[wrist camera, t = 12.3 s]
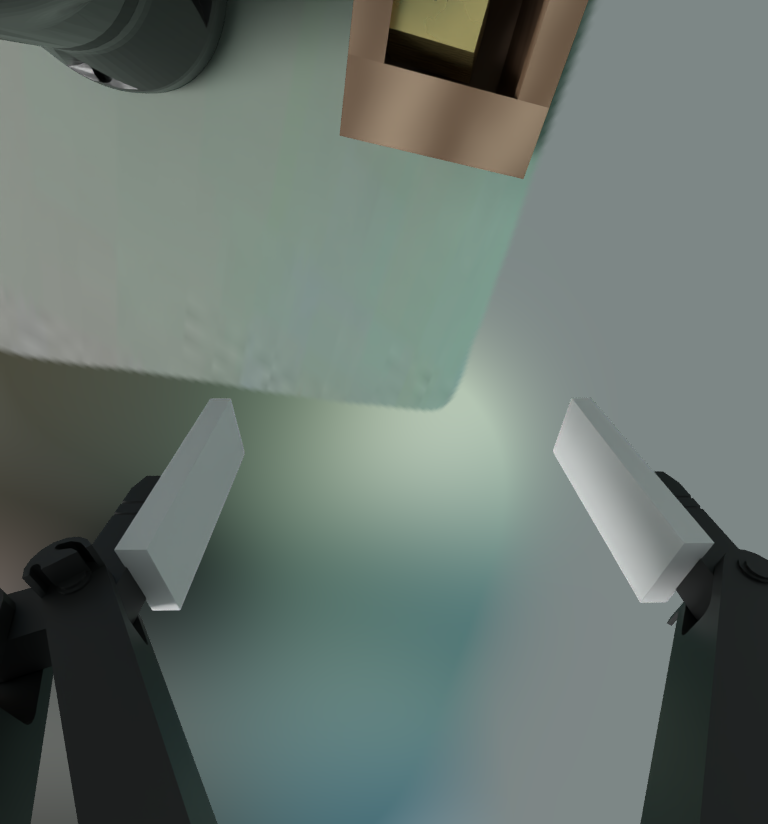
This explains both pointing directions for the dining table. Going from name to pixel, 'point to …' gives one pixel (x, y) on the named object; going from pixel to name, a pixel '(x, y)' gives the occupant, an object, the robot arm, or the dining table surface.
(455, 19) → the rectangular block
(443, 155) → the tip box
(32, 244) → the dining table surface
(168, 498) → the robot arm
